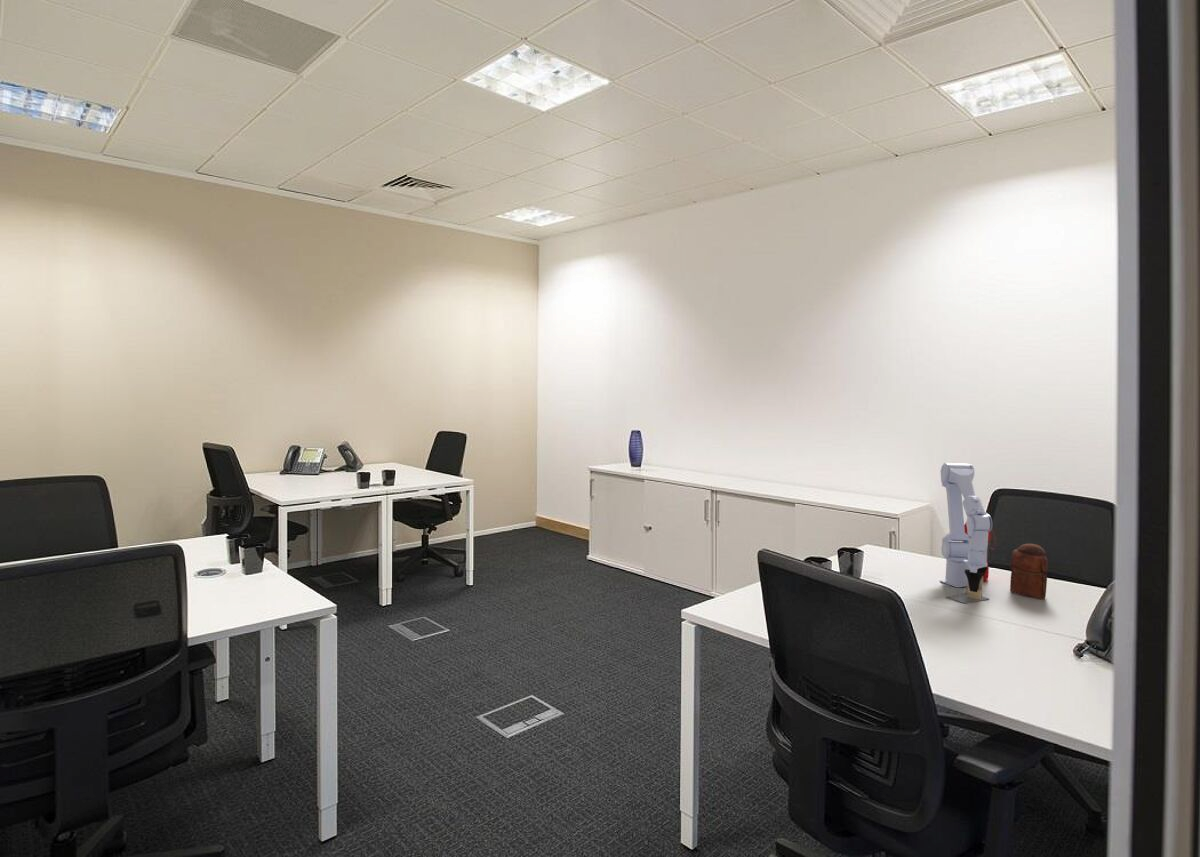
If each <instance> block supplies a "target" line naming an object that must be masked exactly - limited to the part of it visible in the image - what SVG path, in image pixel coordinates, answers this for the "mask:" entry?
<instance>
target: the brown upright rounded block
mask: <svg viewBox="0 0 1200 857" xmlns="http://www.w3.org/2000/svg"><path fill="white" fill-rule="evenodd" d="M1046 555H1047V552H1046V551H1045V549H1044V548H1043V547H1041V546H1040V545H1038V544H1034V543H1025V544H1022V545H1020V546H1019V547H1018V548H1016V549H1014V550H1013V551H1012V555H1011V561H1010V562H1011V563H1010V571H1011V573H1010V585H1009V591H1010V592H1011V593H1015V594H1017V595H1022V596H1027V597H1031V598H1035V599H1038V600H1046V596H1047V586H1048V585H1047V583H1048V582H1047V581H1048V575H1047V574H1048V564H1049V563H1048V562H1049V560H1048V557H1047V556H1046Z"/></svg>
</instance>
